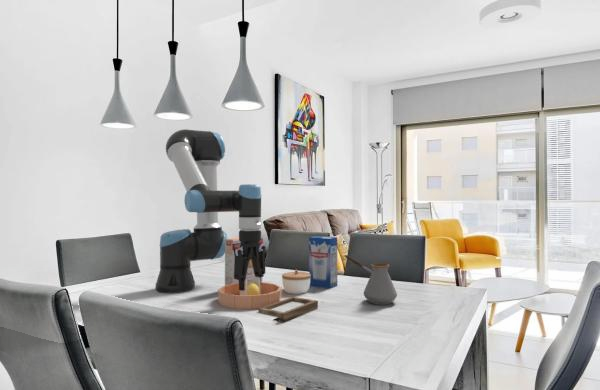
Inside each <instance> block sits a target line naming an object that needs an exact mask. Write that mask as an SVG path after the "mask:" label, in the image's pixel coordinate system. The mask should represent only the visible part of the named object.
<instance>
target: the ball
mask: <svg viewBox="0 0 600 390" xmlns="http://www.w3.org/2000/svg"><path fill="white" fill-rule="evenodd" d="M247 295H259V288H258V286H257V285H256V284H255V283H252V282H249V283H247Z"/></svg>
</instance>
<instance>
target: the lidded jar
mask: <svg viewBox="0 0 600 390" xmlns="http://www.w3.org/2000/svg"><path fill="white" fill-rule="evenodd" d="M310 277H311V274H309V272H305V271H299V270H298V269H295V270H294V271H288V272H284V273H282V275H281V278H282V279H281V280H282V287H283V290H284V291H285V293H287V294H292V295H293V294H294V295H296V294H299V295H300V294H307V292H308V291H309V289H310V287H311V286H310Z"/></svg>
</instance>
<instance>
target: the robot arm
mask: <svg viewBox="0 0 600 390" xmlns="http://www.w3.org/2000/svg"><path fill="white" fill-rule="evenodd" d="M165 152H166V155H167V158H168V159H169V161H170V162H172V163H173V165H174V167H175V168H176V171H177V173H178V176H179V179H180V180H181V182H182V184H183V186H184V189H185V191H186V192H185V194H184V199H183V200H184V202H183V203H184V207H185V210H186V211H187V212H189V213H196V225H195V226H194V227H193V231H191V230H190V229H189V228H186V229H185V228H183V229H176V230H175V229H173V230H170V231H166V232H163V233H162V234H161V235H160V240H159V273H158V276H157V279H156V283H155V285H154V287H155V291H156V292H158V293H163V294H164V293H166V294H171V293H173V294H174V293H176V294H177V293H184V292H188V291H189V292H190V291H192V290H194V289H195V288H196V281H195V279H194V275H193V272H192V270H191V262H195V261H206V260H216V259H220V258H222V257H223V256H225V239H228V236H227V232H226V231H224V230H223V229H222V228H223V227H222V225H221V224H220V223H219V213H227V212H228V213H229V212H235V213H236V212H237V213H238V229H239V231H238V238H239V241H240V242H241V245H240V248H239V249H234V255H235V262H234V279H236V280H239V290H240V295H247V280H245V279H246V274H247V269H248V264H249V261H250V260H251V261H252V265H253V270H254V274H255V276H256V277H255V276H254V277H253V283H255V284H256V285H257V286H258V288H259V295H260V286H261V277H262V278H263V277H264V276H265V274H266V254H265V252H266V246H265V245H263V246H260V244H259V241H261V238H262V231H261V230H260V229H261V228H262V219H261V218H262V190H261V189H262V187H261V185H259V184H255V183H253V184H252V183H251V184H250V183H249V184H248V183H247V184H246V183H245V184H240V185H238V190H218V175H217V174H218V172H217V168H218V165H220V164H221V160H223V159H224V157H225V153H226V144H225V141H224V138H223V137H222V135H221V134H220V133H218V132H214V131H209V130H208V131H206V130H195V129H194V130H193V129H180V130H177V131H175V132H174V133H171V135H170V136H169V138H168V139H167V141H166V143H165ZM245 257H247V258H245Z"/></svg>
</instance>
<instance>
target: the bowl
mask: <svg viewBox="0 0 600 390" xmlns="http://www.w3.org/2000/svg"><path fill="white" fill-rule="evenodd" d="M247 283H249V282H247ZM252 283H253V282H252ZM282 287H283V286H281V285H278V284H276V283H270V282H264V281H262V282H261V286H260V295H240V290H239V283H234V284H230V285H225V284H224V285H222V286H221V287H220V288H218V289H217V302H218V304H220V305H221V306H222V307H226V308H231V309H241V310H243V309H244V310H247V309H248V310H250V309H251V310H253V309H259V308H261V307H264V306H267V305H270V304H273V303H276V302H279V301H282V300H283V299H282V298H283V296H282V295H283V293H282Z"/></svg>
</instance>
